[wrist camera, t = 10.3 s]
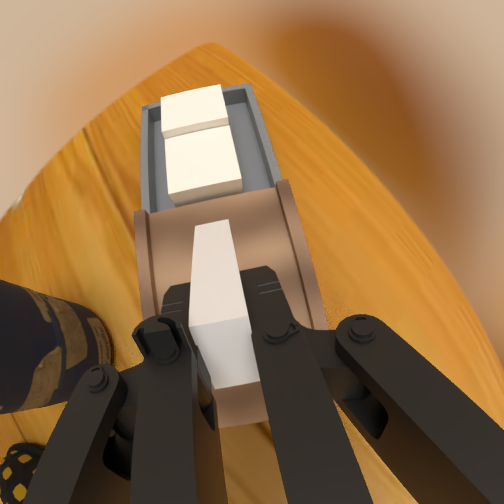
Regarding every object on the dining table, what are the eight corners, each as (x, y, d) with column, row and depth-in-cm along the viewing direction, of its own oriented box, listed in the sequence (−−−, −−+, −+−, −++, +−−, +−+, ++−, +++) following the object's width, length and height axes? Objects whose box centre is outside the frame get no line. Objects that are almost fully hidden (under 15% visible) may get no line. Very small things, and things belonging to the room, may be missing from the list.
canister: (99, 290, 26) (-45, 222, 8) (132, 382, 23) (-23, 412, 6) (37, 322, 25) (-94, 287, 7) (63, 405, 22) (-73, 424, 5)
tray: (282, 203, 28) (284, 187, 25) (152, 230, 27) (142, 218, 25) (251, 100, 32) (250, 83, 30) (149, 122, 32) (141, 106, 29)
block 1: (227, 117, 23) (220, 84, 25) (161, 131, 23) (160, 97, 25) (232, 156, 29) (225, 122, 31) (177, 168, 29) (174, 134, 30)
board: (328, 393, 22) (344, 404, 18) (184, 420, 22) (168, 436, 17) (283, 206, 28) (287, 179, 23) (152, 233, 27) (133, 211, 23)
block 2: (244, 206, 27) (241, 178, 22) (182, 219, 27) (168, 194, 22) (233, 156, 29) (229, 125, 24) (177, 168, 29) (164, 139, 24)
